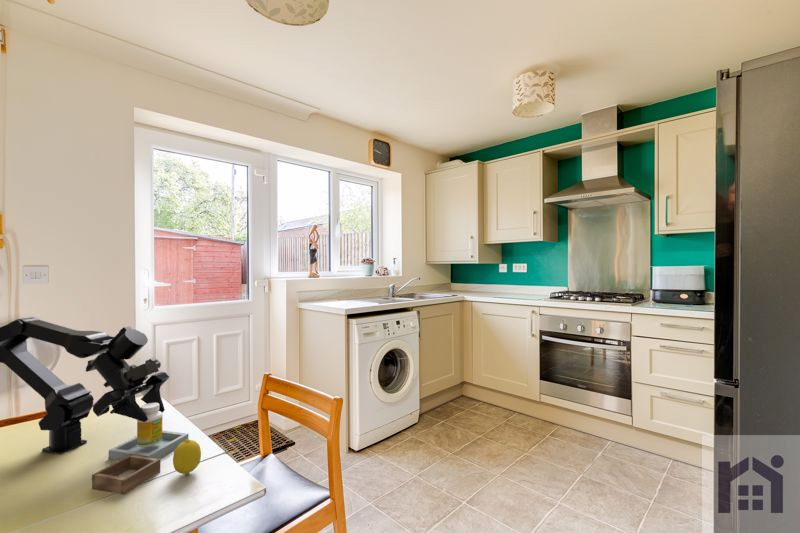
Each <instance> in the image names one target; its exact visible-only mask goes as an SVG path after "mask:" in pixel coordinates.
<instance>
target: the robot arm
mask: <svg viewBox="0 0 800 533" xmlns="http://www.w3.org/2000/svg"><path fill="white" fill-rule="evenodd" d="M30 338H32V339H35V340H39V341H43V342H45V343H50V344H51V345H56V346H61V347H62V348H64V350H65V351H66V352H67V353H68V354H70V355H72V356H74V357H75V358H78V359H85V358H89V357H93V356H96V355H97V356H96V357H95V358H93V359H90V360H87V365H86V367H85V372H87V373H88V372H92V371H94V370H96V371H97V372H98V373H99V375H100V376H101V377H102V378H103V379H104V381H105V382H104V383H103V386H104V387H105V388H109V387H110V388H111V389H112V390H110V391H106V392H104V394H103V395H101V397H100V398H99V399H98V400H97V401H96V402H95V403H94V400H95V399H94V397H93V395H92V394H91V393H92V391H91V390H88V389H87V388H86V387H85V386H84V385H83V384H82V383H80V382H78V383H74V384H71V385H70V384H67V383H65V382H64V381H63V380H61V379H60V378H59V377H58V376H57V375H56V374H55V373H54V372H53V371H51V370H50V369H49V368H48V367H47V366H46V365H44V364H43V363H42V362H41V361H40V360H39V359H37V358H36V357H35V356H34V355H33V354H32V353H31V352H30V351H28V342H27V340H28V339H30ZM148 341H149V338H148V337H147V335H146V334H145V333H143V332H141V331H139V330H137V329H133V328H132V327H131V326H129V325H128V326H124V327H122V328H121V329H120V330H119V331H118V333H117V334H116V335H115V336H111V335H109V334H108V333H107V332H105V331H96V330H76V329H74V328H69V327H66V326H64V325H63V326H62V325H58V324H54V323H52V322H49V321H45V320H41V319H40V318H37V317H31V316H30V317H26V318H24V317H23V318H17V319H15V320H12V321H11V322H9V323H7V324H5V325H2V326H0V363H1V364H4V365H5V366H7V367H8V368H9V369H10V370H11V371H12V372H14V374H15V375H17V376H18V378H20V379H21V380H22V381H24V382H25V384H27V385H28V386H29V387H30V388H31V389H32V390H34V391H35V392H36V393H37V394H38V395H40V396H41V397H42V399H44V408H45V411H46V414H45V415H44V416H43V417H42V418H41V419H40V420H39V421H38V425H39V428H40V431H49V432H48V434H49V435H48V438H49V439H48V446H45V447H44V448H42V449H41V452H46V453H53V454H58V455H61V454H64V453H66V452H68V451H70V450H73V449H75V448H78V447H79V446H82V445H84V444H86V443H87V442H88V440H87V439H82V422H81V420H83V419H85V418H88V417H89V415H90V412H91V410H92V412H93V413H94V414H95V415H96V416H97V417H100V416H102V415H105V414H107V413H110V415H112V414H117V415H120V416H124V417H127V418H130V419H133V420H136V421H137V420H139V421H142V422H146V421H147V420H148V418H147V416H146V414H145V413H144V412H143V410H142V409H141V406H140V405H139V404H138V403H137V399H136V395H137V394H138V395H139V393H140V394H142V397H141V398H140V400H141V401H142V402H144V403H145V404H148V403H159V410H158V411H161V412H162V414H163V413H164V412H165V410H166V409H165V406H164V403H163V399H162V396H161V387H162V386H163V385H164V383H166V382H167V380H169V379H170V376H169V375H168V373H166V371H160V370H159V369H160V368H161V366H162V365H161V364H162V363H161V362H160V361H159V360H158V359H157V358H156V357H155V356H154V357H152V358H149V359H146V360H145V363H142V364H140V365H136V364H132V365H129V363H128V362H127V361H126V360H130V359H132V358H133V357H135V355H136V354H137V353H138V352H140V351H141V349H142V348H143V347H145V346H146V345H147V344H148ZM159 371H160V372H159ZM154 373H155V374H154ZM150 375H151V376H150ZM148 376H150V377H148ZM110 406H111V408H112V409H110Z"/></svg>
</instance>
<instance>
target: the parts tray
mask: <svg viewBox="0 0 800 533" xmlns="http://www.w3.org/2000/svg"><path fill="white" fill-rule="evenodd" d="M187 439H189V433H187V432H186V433H185V432H178V431H170V430H164V429H162V441H161V442H160V443H158V444H156V445H154V446H150V447H139V446H137V436H134V437H133V438H131V439H128V440H127V441H125V442H123V443H120V444H118V445H117V446H114V447H113V448H110V449H108V460H113V461H116V462H117V461H119V460H121V459H123V458H125V457H127V456H129V455H136V456H143V457H149V458H156V459H160V460H161V458H163V457H165V456H167V455H169V454H170V453H172V452H175V450H176V448H177V447H178V445H179V444H181V443H182V442H184V441H185V440H187Z"/></svg>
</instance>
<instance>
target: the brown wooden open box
mask: <svg viewBox="0 0 800 533" xmlns="http://www.w3.org/2000/svg"><path fill="white" fill-rule="evenodd" d="M128 471H134V472H132V473H131V474H129V475H127V476H126V477H123V476H122V477H121V475H123V474H124V473H127V472H128ZM160 473H161V458H160V459H156V458H149V457H143V456H136V455H129V456H127V457H125V458H123V459H121V460H119V461H117V460H116V462H114V463H112V464H110V465H108V466H106V467H104V468H103V469H100V470H99V471H97V472H95V473H93V474H92V475H91V490H94V491H101V492H106V493H111V494H116V495H122V496H125V495H126V494H128V493H131V491H133V490H134V489H136V488H138V487H139V486H141V485H142V484H145V483H146V482H147V481H149V480H150V479H152V478H153V477H155V476H157V475H158V474H160Z"/></svg>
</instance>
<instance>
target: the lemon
mask: <svg viewBox="0 0 800 533" xmlns="http://www.w3.org/2000/svg"><path fill="white" fill-rule="evenodd" d="M201 457H202V450H201V446H200V444H199V443H198V442H197V441H195V440H193V439H189V438H188V439H187V440H185V441H184V442H182V443H181V444H179V445H178V447H177V448H176V449H175V450H174V451H173V456H172V465H173V469H174V470H175V471H176V472H177V473H179V474H181V475H182V474H183V475H185V476H188V475H189V474H190V473H192V472H193V471H194V470H196V468H197V467H198V466H199V464H200V461H201V459H202V458H201Z"/></svg>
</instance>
